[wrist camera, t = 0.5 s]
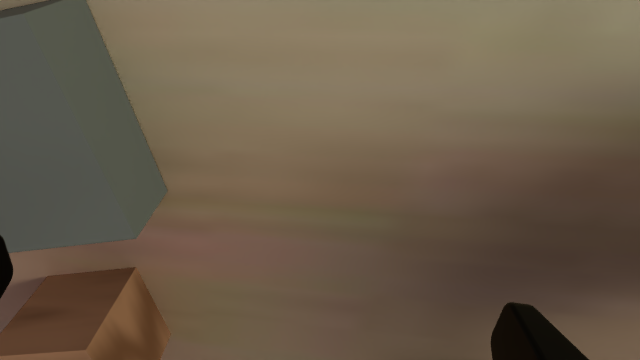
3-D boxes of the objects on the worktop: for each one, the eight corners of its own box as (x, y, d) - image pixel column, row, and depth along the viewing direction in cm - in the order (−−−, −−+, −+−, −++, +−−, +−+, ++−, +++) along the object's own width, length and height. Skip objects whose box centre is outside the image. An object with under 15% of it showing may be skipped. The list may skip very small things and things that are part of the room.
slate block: (167, 190, 24) (136, 238, 21) (4, 211, 26) (-50, 259, 22) (82, -7, 19) (22, 13, 16) (-115, 34, 21) (-208, 61, 17)
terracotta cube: (171, 333, 30) (133, 420, 25) (90, 339, 31) (38, 424, 26) (136, 266, 27) (85, 350, 22) (48, 275, 28) (-20, 357, 23)
